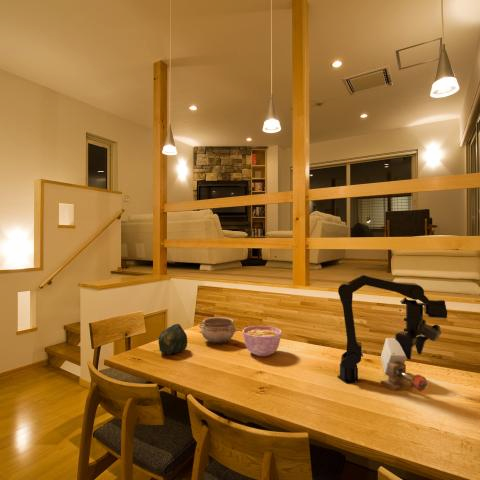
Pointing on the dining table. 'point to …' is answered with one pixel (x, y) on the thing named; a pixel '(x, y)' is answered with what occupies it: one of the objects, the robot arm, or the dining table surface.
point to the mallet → (415, 380)
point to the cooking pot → (218, 329)
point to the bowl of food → (262, 339)
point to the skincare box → (392, 353)
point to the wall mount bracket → (396, 376)
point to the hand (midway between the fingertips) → (414, 356)
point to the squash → (172, 340)
